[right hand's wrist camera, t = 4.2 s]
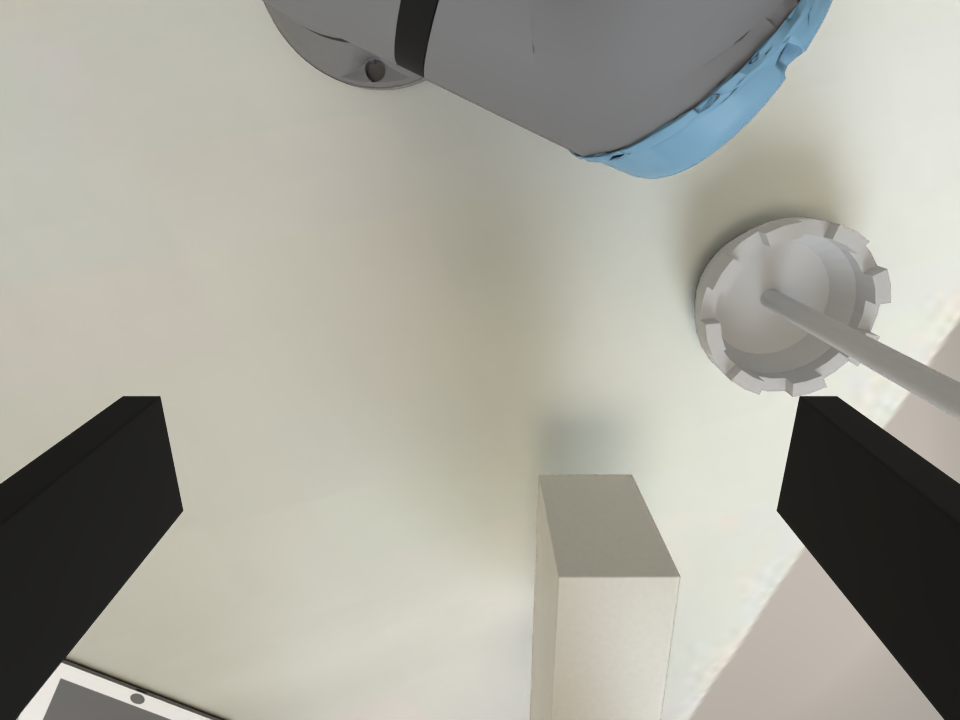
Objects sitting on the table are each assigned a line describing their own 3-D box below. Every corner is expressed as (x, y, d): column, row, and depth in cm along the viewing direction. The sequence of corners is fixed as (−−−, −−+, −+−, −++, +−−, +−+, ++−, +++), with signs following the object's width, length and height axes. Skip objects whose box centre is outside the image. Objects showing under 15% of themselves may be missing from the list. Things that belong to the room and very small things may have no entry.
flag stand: (649, 287, 48) (897, 501, 19) (793, 175, 45) (1331, 234, 16) (738, 401, 51) (1059, 723, 23) (877, 303, 48) (1443, 535, 20)
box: (538, 474, 42) (558, 577, 32) (632, 474, 42) (680, 576, 32) (528, 751, 51) (541, 899, 41) (605, 751, 51) (636, 899, 41)
